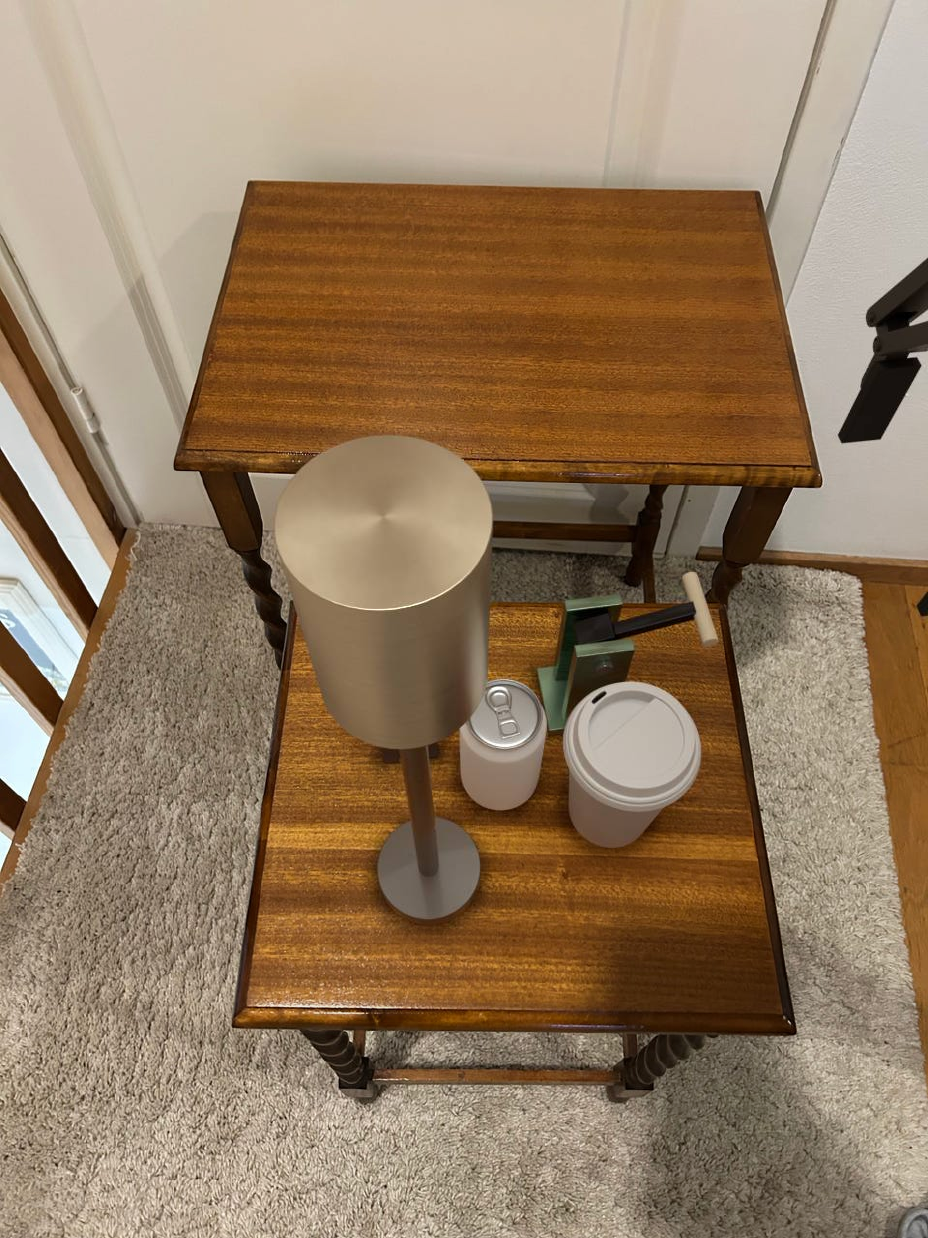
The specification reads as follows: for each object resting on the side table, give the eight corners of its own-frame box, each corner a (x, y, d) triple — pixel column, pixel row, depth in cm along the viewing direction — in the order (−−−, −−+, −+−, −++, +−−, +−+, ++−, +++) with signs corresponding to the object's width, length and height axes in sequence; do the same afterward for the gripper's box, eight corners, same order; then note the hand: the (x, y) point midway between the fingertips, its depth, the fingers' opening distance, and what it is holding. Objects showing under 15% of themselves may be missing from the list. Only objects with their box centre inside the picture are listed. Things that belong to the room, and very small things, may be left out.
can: (524, 730, 80) (532, 663, 69) (549, 800, 76) (561, 741, 66) (451, 750, 79) (448, 685, 69) (473, 821, 76) (473, 765, 65)
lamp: (501, 882, 73) (538, 532, 34) (419, 948, 71) (355, 652, 31) (439, 805, 76) (407, 403, 37) (358, 865, 74) (231, 502, 34)
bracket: (613, 664, 83) (635, 585, 72) (628, 725, 80) (654, 653, 69) (535, 674, 82) (546, 596, 72) (548, 736, 79) (561, 665, 68)
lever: (698, 581, 73) (695, 565, 71) (719, 648, 70) (717, 633, 68) (573, 615, 75) (568, 601, 73) (589, 681, 72) (583, 668, 69)
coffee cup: (638, 740, 79) (671, 654, 66) (687, 845, 74) (732, 775, 62) (532, 774, 78) (545, 693, 65) (575, 883, 73) (598, 819, 60)
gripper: (1352, 417, 34) (1044, 686, 52) (1043, 57, 47) (881, 371, 65) (1161, 437, 34) (916, 701, 52) (901, 67, 47) (778, 381, 65)
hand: (896, 518), depth 59 cm, fingers open, 13 cm apart
